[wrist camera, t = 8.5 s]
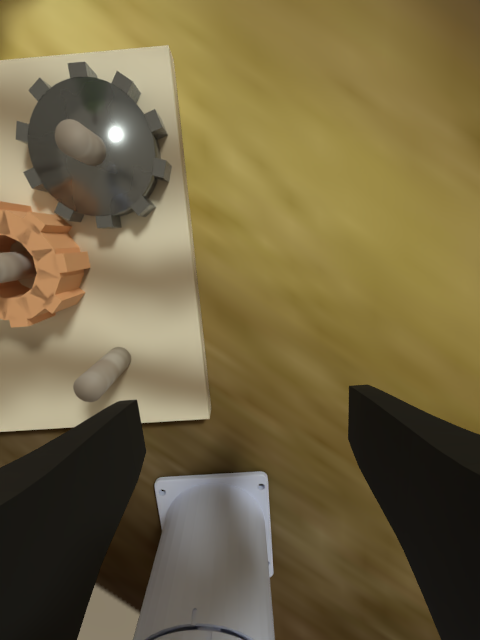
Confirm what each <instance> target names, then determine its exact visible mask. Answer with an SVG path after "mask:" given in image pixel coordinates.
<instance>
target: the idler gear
mask: <svg viewBox="0 0 480 640" xmlns="http://www.w3.org/2000/svg"><path fill="white" fill-rule="evenodd" d="M71 228H72V226H71V225H70V224H68V223H67V222H66V221H65V220H64V219H62V218H61V217H60V216H59V215H53V214H45V213H37V212H32V208H31V206H27V205H21V204H14V203H8V202H1V201H0V253H3V252H10V249H11V246H12V244H13V243H15V242H16V241H19V242H21V243H22V244H23V246H24V247H25V248H26V249H27V250H28V252H29V253H30V254H31V255H32V256H33V260H34V264H35V268H36V272H37V274H36V277H35V281H34V284H33V287H32V289H30V288H28V287H26V286H24V285H22V284H21V283H20V282H19V281H18V280H15V281H10V282H4V283H0V319H2V320H9V322H10V325H11V328H13V327H27V326H31V325H33V324H36V323H38V322H40V321H43V320H45V319H48V318H50V317H53V316H55V315H56V312H58V311H61V310H63V309H66V308H68V307H71V306H73V305H76V304H77V303H78V302H79V301H80V299H81V298H82V297H83V295H84V294H85V293H86V292H84V291H83V290H82V289H80V288H79V287H80V284H81V281H82V278H83V276H84V269H87V268H91V267H90V262H89V256H88V251H87V252H80V247H79V246H78V245H77V244H76V242H75V241H74V240H73V239H72V237H71V236H70V235H69V233H68V232H69V231H70V229H71Z"/></svg>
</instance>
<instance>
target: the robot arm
mask: <svg viewBox="0 0 480 640" xmlns="http://www.w3.org/2000/svg"><path fill="white" fill-rule="evenodd" d="M348 440H349V442H350V445H351V448H352V451H353V453H354V456H355V458H356V461H357V463H358V466H359V468H360V470H361V472H362V474H363V475H364V477H365V479H366V481H367V483H368V485H369V487H370V488H371V490H372V492H373V494H374V496H375V498H376V499H377V501H378V503H379V505H380V507H381V509H382V510H383V512H384V514H385V516H386V518H387V520H388V521H389V523H390V525H391V527H392V529H393V530H394V532H395V534H396V536H397V538H398V540H399V542H400V544H401V546H402V548H403V550H404V552H405V555H406V557H407V559H408V562H409V564H410V566H411V568H412V571H413V573H414V575H415V578H416V580H417V582H418V585H419V587H420V589H421V592H422V594H423V596H424V599H425V601H426V604H427V606H428V608H429V611H430V613H431V616H432V618H433V621H434V623H435V625H436V628H437V630H438V633H439V635H440V637H441V640H480V435H479V434H476V433H473V432H471V431H468V430H466V429H463V428H461V427H458V426H456V425H453V424H451V423H449V422H446V421H444V420H442V419H440V418H437V417H435V416H433V415H431V414H428V413H426V412H424V411H422V410H420V409H418V408H416V407H414V406H412V405H410V404H408V403H406V402H404V401H402V400H400V399H398V398H396V397H394V396H392V395H390V394H388V393H385V392H383V391H381V390H379V389H377V388H375V387H372V386H370V385H357V386H349V427H348ZM145 454H146V448H145V442H144V436H143V430H142V425H141V419H140V413H139V407H138V402H137V400H123V401H118V402H116V403H114V404H112V405H110V406H108V407H107V408H105V409H103V410H101V411H100V412H98V413H97V414H95V415H93V416H92V417H90V418H88V419H87V420H85V421H84V422H82V423H80V424H79V425H77V426H76V427H74V428H72V429H71V430H69V431H67V432H66V433H64V434H62V435H61V436H59V437H57V438H55V439H54V440H52V441H50V442H48V443H47V444H45V445H43V446H41V447H40V448H38V449H36V450H34V451H33V452H31V453H29V454H27V455H25V456H23V457H21V458H19V459H17V460H15V461H13V462H11V463H9V464H7V465H5V466H3V467H1V468H0V640H77V637H78V634H79V631H80V628H81V624H82V622H83V618H84V615H85V612H86V609H87V606H88V602H89V600H90V597H91V594H92V591H93V588H94V585H95V582H96V579H97V576H98V573H99V570H100V567H101V565H102V562H103V560H104V557H105V555H106V552H107V550H108V547H109V545H110V543H111V540H112V538H113V536H114V534H115V531H116V529H117V527H118V525H119V522H120V520H121V518H122V516H123V513H124V511H125V509H126V507H127V504H128V502H129V500H130V497H131V495H132V493H133V490H134V488H135V486H136V483H137V481H138V478H139V475H140V472H141V468H142V465H143V461H144V457H145ZM259 484H263V485H262V486H259ZM154 487H155V493H156V499H157V505H158V511H159V517H160V522H161V528H162V534H161V538H160V542H159V545H158V549H157V553H156V556H155V560H154V564H153V568H152V571H151V575H150V579H149V582H148V586H147V590H146V593H145V597H144V601H143V605H142V608H141V612H140V616H139V619H138V623H137V627H136V631H135V634H134V638H133V640H275V637H274V625H273V613H272V601H271V589H270V577H271V576H272V575H273V558H272V541H271V524H270V508H269V491H268V477H267V474H266V473H265V472H261V471H258V472H241V473H224V474H207V475H190V476H173V477H160V478H158V479H157V480H156V482H155V485H154ZM161 490H165V491H161Z"/></svg>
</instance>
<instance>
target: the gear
mask: <svg viewBox="0 0 480 640" xmlns="http://www.w3.org/2000/svg"><path fill="white" fill-rule="evenodd" d="M67 64H68V69H69V75H70V78H69V79H66V80H63V81H61V82H59V83H57V84H55V85H54V86H52V87H51V86H50V85H49V84H47V83H46V82H45V81H44V80H43V79H41V78H39V79H38V80H37V81H36V82H35V83H34V84H33V86H32V87H31V88H30V89H29V90H28V91H29V92H30V93H31V94H32V95H33V96H34V98H35V99H36V100H37V101H38V102H37V104H36V106H35V108H34V110H33V112H32V115H31V118H30V122H29V124H27V123H23V122H20V121H17V122H16V140H18V141H21V142H23V143H25V144H27V145H28V148H29V154H30V158H31V162H32V165H33V168H31V169H29V170H26V171H24V172H23V173H24V175H25V177H26V179H27V180H28V182H29V184H30V186H31V188H32V189H36V190H40V191H44V192H49V193H50V194H51V195H52V196H53V197H54V198H55V199H56V200H57V201H59V202H58V204H57V207H56V209H55V211H54V212H55V213H56V214H58V215H60V216H61V217H63V218H65V219H66V220H68V221H73V222H81V221H82V219H83V217H84V214H85V215H90V216H95V218H96V224H97V228H102V229H113V228H122V226H121V220H120V216H124V215H127V214H129V213H131V212H133V211H135V212H136V214H137V215H138V216H142V217H146V216H147V215H148V214H150V213H151V212H152V211H153V210H154V209H155V208H156V206H155V205H154V204H153V203H152V202H151V200H150V199H149V197H150V196H151V194H152V192H153V191H154V189H155V187H156V184H157V181H158V180H162V181H166V182H169V180H170V174H171V169H172V166H171V165H170V164H169V163H168V162H167V161H166V160H163V159H161V153H160V147H159V142H158V140H159V139H161V138H164V137H166V136H168V133H167V131H166V129H165V126H164V124H163V121H162V119H161V117H160V116H159V114H158V113H157V111H156V110H155V109H154V110H152V111H150V112H147V113H145V114H144V113H143V112H142V110H141V109H140V108H139V106H138V105H137V104H136V103H137V101H138V99H139V97H140V95H141V93H140V91H139V90H138V88H137V87H136V85H135V84H134V82H133V81H132V80H130V79H129V78H127V77H126V76H124V75H123V74H121V73H120V72H118V71H116V74H115V76H114V78H113V80H112V83H110V82H107V81H105V80H102V79H99V78H97V75H96V73H95V72H94V71H93V70H92V69H91V68H90V67H89V66H88V64H87V63H86V62H74V63H67ZM66 119H72V120H75V121H78V122H79V123H81V124H82V125H83V126H85V127H86V128H87V129H89V130H90V131H92V132H93V133H94V134H96V135H97V136H99V137H100V138H101V139H102V140H103V142H104V144H105V146H106V157H105V159H104V161H103V162H102V163H101V164H99V165H97V166H90V165H87V164H85V163H83V162H81V161H79V160H77V159H74V158H72V157H70V156H68V155H66V154H65V153H63V152H62V151H61V150H60V149H59V147H58V146H57V144H56V141H55V130H56V127H57V125H58V124H59V123H60V122H61V121H63V120H66Z"/></svg>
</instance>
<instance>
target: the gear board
mask: <svg viewBox="0 0 480 640" xmlns="http://www.w3.org/2000/svg"><path fill="white" fill-rule="evenodd" d="M74 62H86V63H87V64H88V66H89V67H90V68H91V69H92V70H93V71H94V72H95V73H96V75H97V78H99V79H102V80H105V81H107V82H110V83H112V80H113V78H114V76H115V74H116V71H118V72H120V73H121V74H123V75H124V76H126V77H127V78H129V79H130V80H132V81H133V82H134V84H135V85H136V87H137V88H138V90H139V91H140V93H141V95H140V97H139V99H138V101H137V103H136V104H137V105H138V106H139V108H140V109H141V110H142V112H143V113H144V114H145V113H147V112H150V111H152V110H154V109H155V110H156V111H157V113H158V114H159V116H160V117H161V119H162V121H163V124H164V126H165V129H166V131H167V133H168V136H166V137H164V138H161V139H159V140H158V142H159V147H160V153H161V159H163V160H166V161H167V162H168V163H169V164H170V165H171V166H172V169H171V174H170V180H169V182H166V181H162V180H158V181H157V184H156V187H155V189H154V191H153V192H152V194H151V196H150V197H149V199H150V200H151V202H152V203H153V204H154V205H155V206H156V208H155V209H154V210H153V211H152V212H151V213H150V214H148V215H147V216H146V217H142V216H138V215H137V214H136V212H135V211H133V212H131V213H129V214H127V215H124V216H120V220H121V226H122V228H113V229H102V228H97V224H96V218H95V216H90V215H85V214H84V217H83V219H82V221H81V222H73V221H68V220H66V219H65V218H63V217H61V216H60V215H59V216H60V217H61V218H62V219H64V220H65V221H66V222H67V223H68V224H70V225H71V226H72V228H71V229H70V231H69V232H68V233H69V235H70V236H71V237H72V239H73V240H74V241H75V242H76V244H77V245H78V246H79V247H80V252H87V251H88V256H89V262H90V267H91V268H87V269H84V276H83V278H82V281H81V284H80V287H79V288H80V289H82V290H83V291H84V292H86V293H85V294H84V295H83V297H82V298H81V299H80V301H79V302H78V303H77V304H76V305H73V306H71V307H68V308H66V309H63V310H61V311H58V312H56V315H55V316H53V317H50V318H48V319H45V320H43V321H40V322H38V323H36V324H33V325H31V326H27V327H13V328H11V325H10V322H9V320H2V319H0V432H7V431H23V430H39V429H55V428H71V427H76V426H77V425H79V424H80V423H82V422H84V421H85V420H87V419H88V418H90V417H92V416H93V415H95V414H97V413H98V412H100V411H101V410H103V409H105V408H107V407H108V406H110V405H112V404H114V403H116V402H118V401H123V400H137V402H138V407H139V413H140V419H141V423H150V422H166V421H182V420H198V419H209V418H210V413H211V402H210V393H209V384H208V374H207V365H206V356H205V347H204V337H203V328H202V319H201V309H200V300H199V291H198V281H197V272H196V263H195V254H194V244H193V235H192V226H191V216H190V207H189V198H188V188H187V179H186V170H185V160H184V151H183V142H182V133H181V123H180V114H179V105H178V95H177V86H176V77H175V67H174V59H173V57H172V54H171V51H170V49H169V46H168V45H167V46H156V47H145V48H134V49H122V50H111V51H100V52H89V53H78V54H66V55H55V56H44V57H33V58H22V59H10V60H0V201H1V202H8V203H14V204H21V205H27V206H31V208H32V212H37V213H45V214H53V215H58V214H56V213H55V212H54V211H55V209H56V207H57V204H58V202H59V201H57V200H56V199H55V198H54V197H53V196H52V195H51V194H50V193H49V192H44V191H40V190H36V189H32V188H31V186H30V184H29V182H28V180H27V179H26V177H25V175H24V173H23V172H24V171H26V170H29V169H31V168H33V165H32V162H31V158H30V154H29V148H28V145H27V144H25V143H23V142H21V141H18V140H16V122H17V121H20V122H23V123H27V124H29V122H30V118H31V115H32V112H33V110H34V108H35V106H36V104H37V102H38V101H37V100H36V99H35V98H34V96H33V95H32V94H31V93H30V92H29V91H28V90H29V89H30V88H31V87H32V86H33V84H34V83H35V82H36V81H37V80H38V79H39V78H41V79H43V80H44V81H45V82H46V83H47V84H49V85H50V86H51V87H52V86H54V85H55V84H57V83H59V82H61V81H63V80H66V79H69V78H70V75H69V69H68V64H67V63H74ZM55 141H56V144H57V146H58V147H59V149H60V150H61V151H62V152H63V153H65V154H66V155H68V156H70V157H72V158H74V159H77V160H79V161H81V162H83V163H85V164H87V165H90V166H97V165H99V164H101V163H102V162H103V161H104V159H105V157H106V146H105V144H104V142H103V140H102V139H101V138H100V137H99V136H97V135H96V134H94V133H93V132H92V131H90V130H89V129H87V128H86V127H85V126H83V125H82V124H81V123H79V122H78V121H75V120H72V119H66V120H63V121H61V122H60V123H59V124H58V125H57V127H56V130H55ZM36 274H37V272H36V268H35V264H34V260H33V256H32V255H31V254H30V253H29V252H28V250H27V249H26V248H25V247H24V246H23V244H22V243H21V242H19V241H16V242H15V243H13V244H12V246H11V249H10V252H3V253H0V283H4V282H10V281H15V280H18V281H19V282H20V283H21V284H22V285H24V286H26V287H28V288H30V289H32V287H33V284H34V281H35V277H36Z"/></svg>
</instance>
